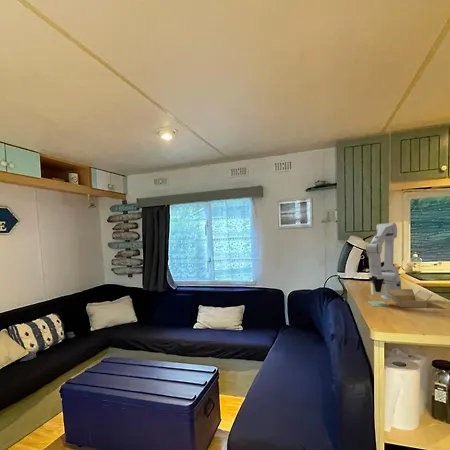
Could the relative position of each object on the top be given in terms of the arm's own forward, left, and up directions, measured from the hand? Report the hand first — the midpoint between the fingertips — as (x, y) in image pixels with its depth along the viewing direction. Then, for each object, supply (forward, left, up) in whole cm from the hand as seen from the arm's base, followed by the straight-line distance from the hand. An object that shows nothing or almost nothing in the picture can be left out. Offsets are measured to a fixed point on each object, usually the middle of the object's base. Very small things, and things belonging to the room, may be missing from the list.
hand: (377, 291), depth 160 cm
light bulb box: (-29, +16, -8) cm, 34 cm away
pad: (0, 0, -7) cm, 7 cm away
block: (0, 0, -2) cm, 2 cm away
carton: (-1, +15, -7) cm, 16 cm away
